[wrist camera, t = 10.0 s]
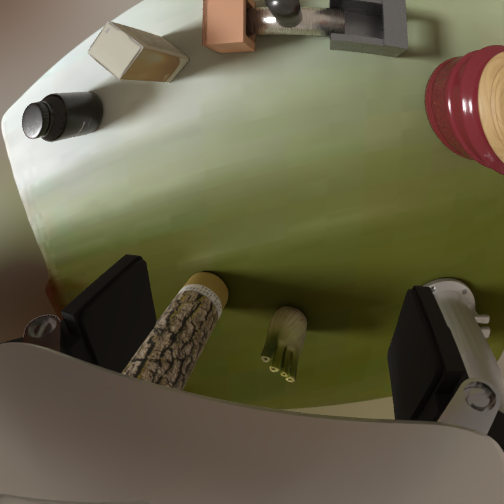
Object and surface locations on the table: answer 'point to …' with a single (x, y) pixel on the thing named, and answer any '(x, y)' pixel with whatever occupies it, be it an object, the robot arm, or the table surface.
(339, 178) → the table surface
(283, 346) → the fennel bulb
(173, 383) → the paper tube
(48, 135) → the supplement bottle
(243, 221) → the table surface
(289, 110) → the table surface
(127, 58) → the skincare box
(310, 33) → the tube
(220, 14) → the socket
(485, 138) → the canister
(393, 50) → the sleeve
